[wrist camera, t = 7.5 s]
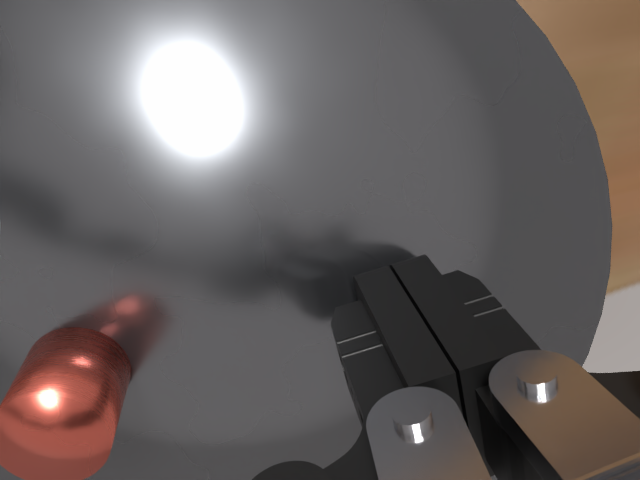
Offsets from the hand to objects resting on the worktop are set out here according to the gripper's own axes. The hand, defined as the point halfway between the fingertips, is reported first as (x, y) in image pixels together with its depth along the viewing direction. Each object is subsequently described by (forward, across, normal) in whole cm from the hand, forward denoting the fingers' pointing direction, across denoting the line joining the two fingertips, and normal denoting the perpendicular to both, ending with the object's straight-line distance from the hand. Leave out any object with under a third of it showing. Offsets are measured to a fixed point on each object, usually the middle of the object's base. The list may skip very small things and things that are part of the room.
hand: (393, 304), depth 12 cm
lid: (+2, +4, -2) cm, 5 cm away
